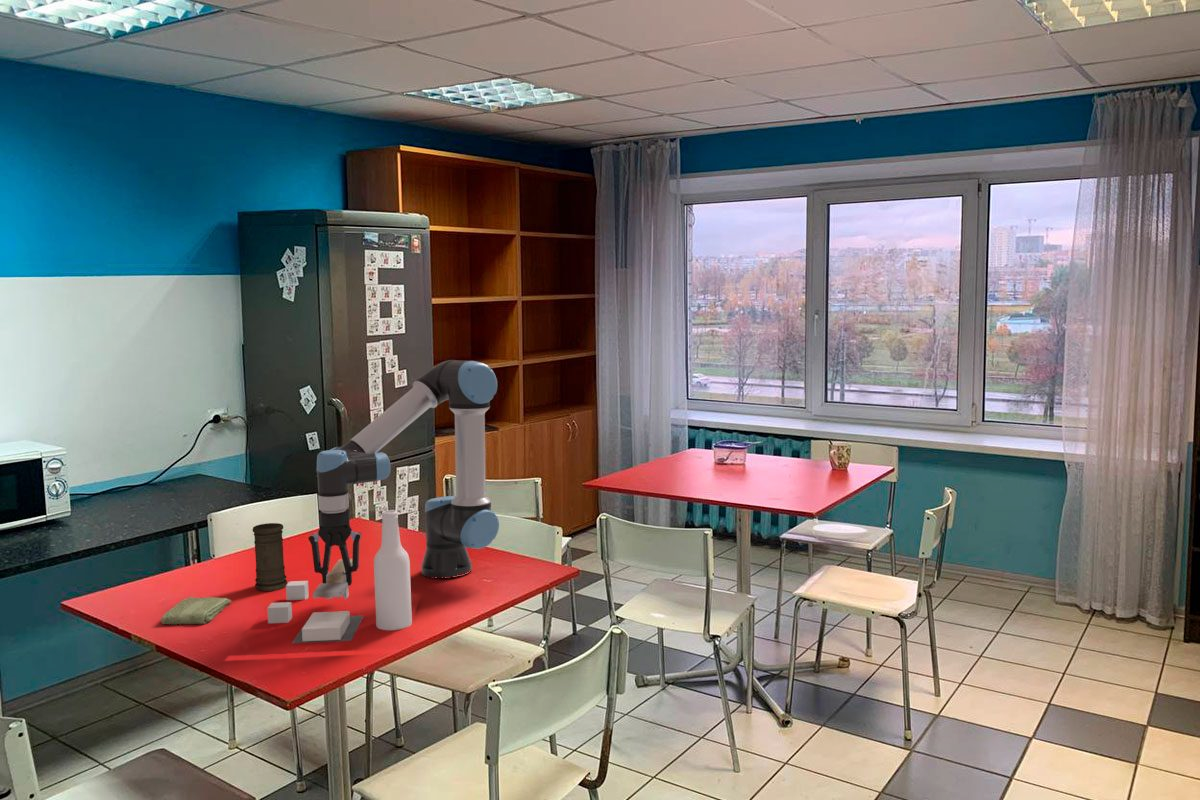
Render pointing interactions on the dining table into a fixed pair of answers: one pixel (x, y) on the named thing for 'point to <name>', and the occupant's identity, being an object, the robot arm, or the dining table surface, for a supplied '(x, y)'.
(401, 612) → the alcohol
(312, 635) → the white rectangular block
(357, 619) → the mat
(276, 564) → the container
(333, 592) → the beige tapered bar
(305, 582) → the tool rest
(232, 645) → the dining table surface
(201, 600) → the washcloth
